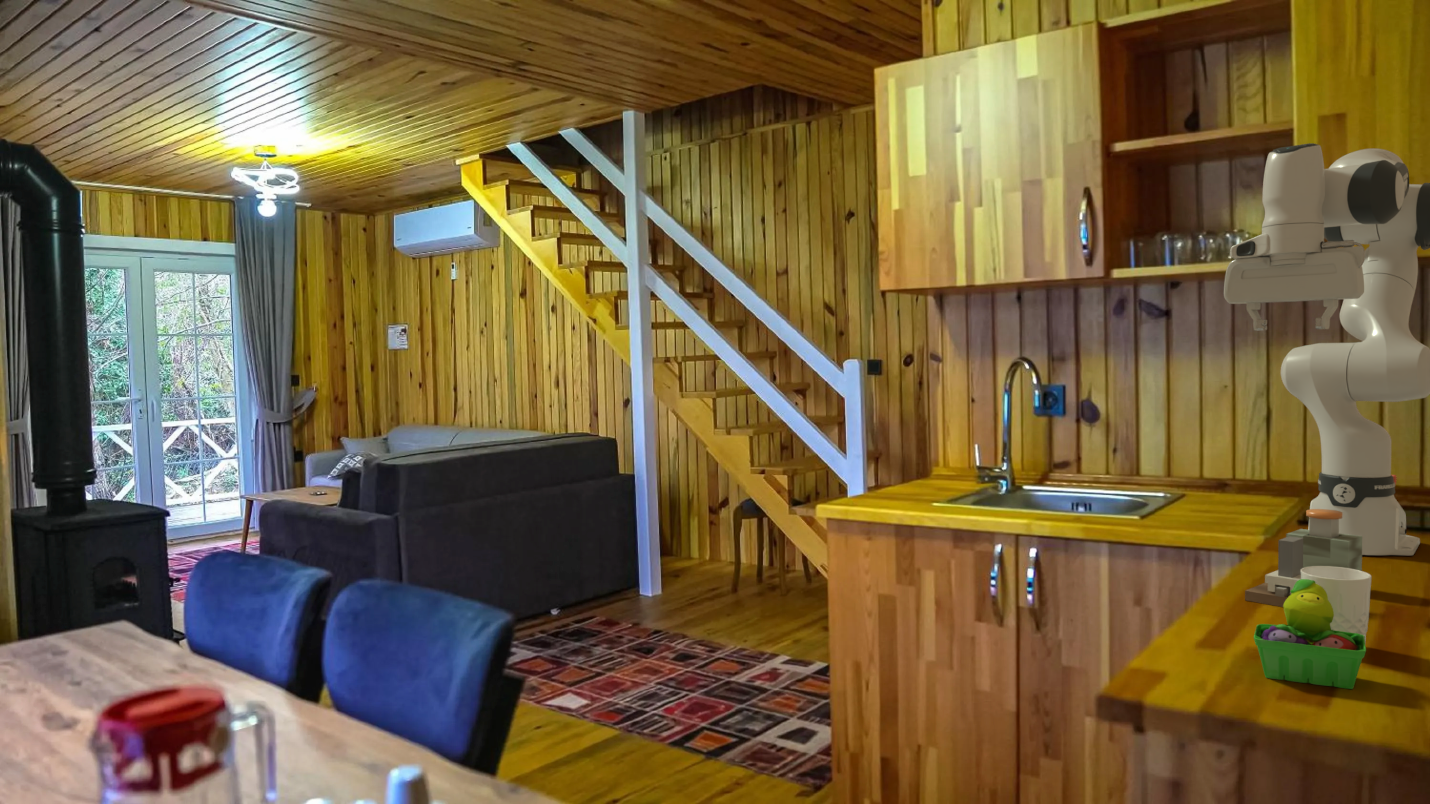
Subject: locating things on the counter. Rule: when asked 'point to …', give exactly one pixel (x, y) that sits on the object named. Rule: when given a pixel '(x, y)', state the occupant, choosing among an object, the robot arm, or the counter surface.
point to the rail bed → (1314, 562)
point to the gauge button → (1324, 522)
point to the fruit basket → (1309, 642)
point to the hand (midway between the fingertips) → (1290, 329)
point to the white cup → (1344, 595)
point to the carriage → (1287, 564)
